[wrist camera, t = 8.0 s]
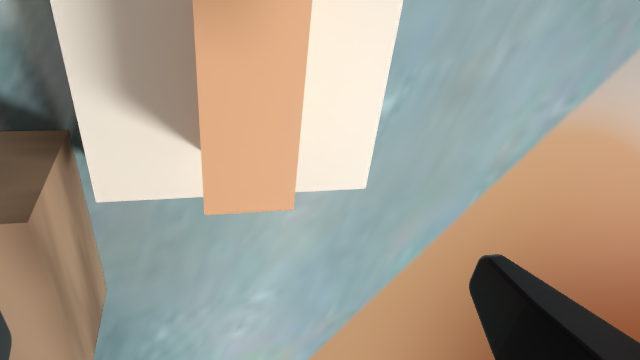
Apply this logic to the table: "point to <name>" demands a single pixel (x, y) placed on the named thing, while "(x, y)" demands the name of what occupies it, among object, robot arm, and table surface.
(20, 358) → the walnut box
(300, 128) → the lid
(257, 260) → the table surface
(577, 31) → the table surface
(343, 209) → the table surface
